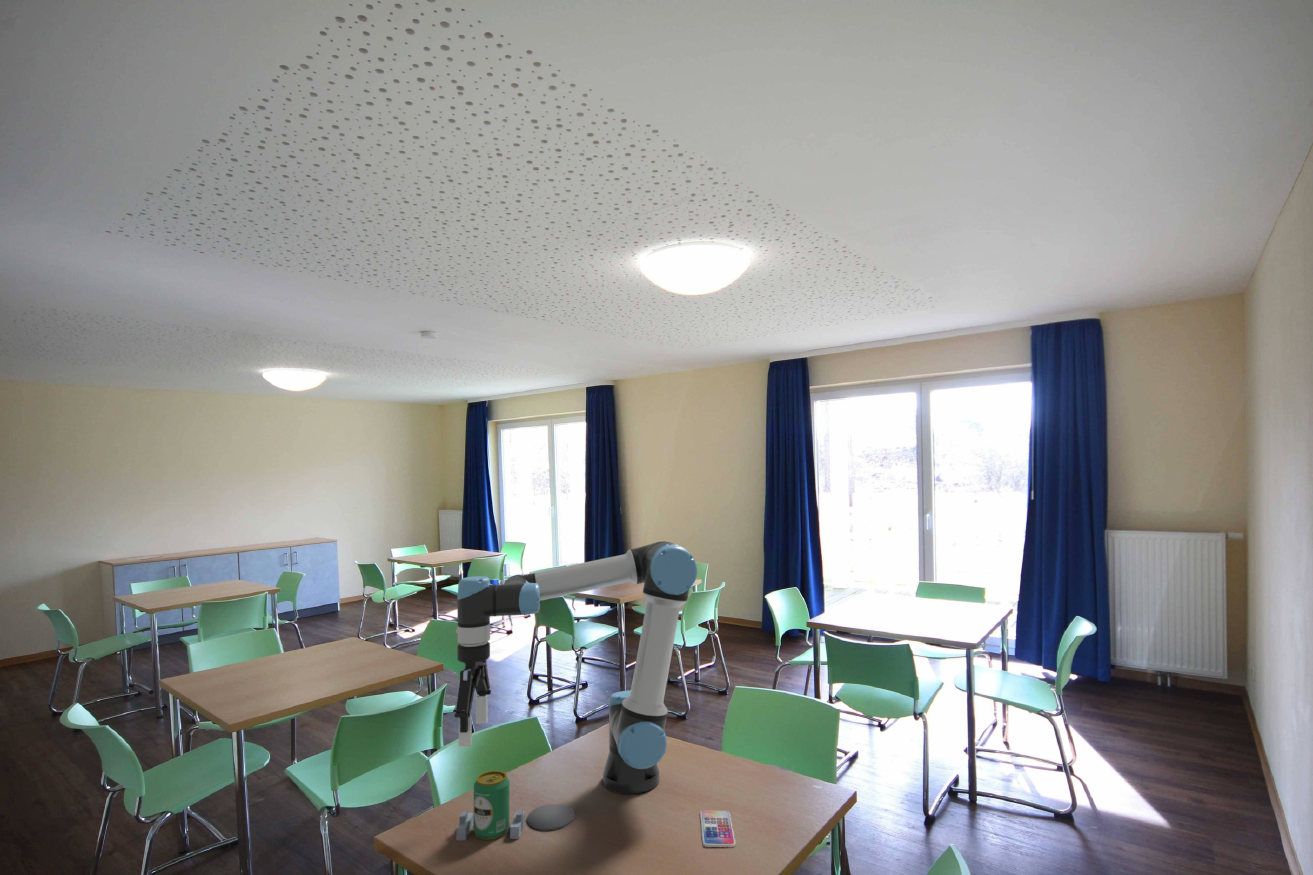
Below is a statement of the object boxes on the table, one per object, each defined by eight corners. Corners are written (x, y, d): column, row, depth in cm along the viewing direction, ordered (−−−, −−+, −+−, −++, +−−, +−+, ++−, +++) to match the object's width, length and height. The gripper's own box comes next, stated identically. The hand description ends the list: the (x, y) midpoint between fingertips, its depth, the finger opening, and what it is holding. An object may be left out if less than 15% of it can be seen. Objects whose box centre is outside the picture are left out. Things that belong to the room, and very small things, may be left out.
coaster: (576, 805, 157) (576, 803, 157) (571, 829, 146) (571, 826, 146) (531, 806, 156) (531, 804, 156) (523, 831, 145) (523, 828, 145)
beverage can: (465, 836, 143) (466, 781, 144) (487, 819, 151) (488, 767, 152) (495, 843, 140) (495, 787, 141) (516, 825, 148) (516, 772, 149)
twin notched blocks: (524, 821, 149) (524, 804, 150) (519, 838, 142) (519, 819, 143) (465, 823, 149) (465, 806, 149) (456, 840, 142) (456, 821, 142)
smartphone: (730, 810, 153) (736, 845, 138) (730, 814, 153) (736, 849, 138) (699, 809, 153) (702, 844, 138) (699, 813, 153) (702, 848, 138)
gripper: (473, 631, 164) (473, 715, 163) (440, 656, 139) (440, 756, 138) (501, 630, 164) (502, 714, 163) (474, 656, 139) (474, 755, 138)
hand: (473, 733), depth 150 cm, fingers open, 13 cm apart
